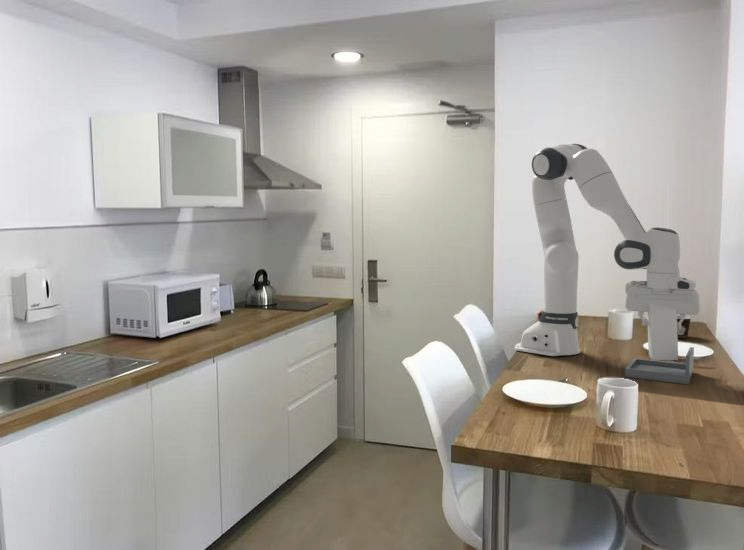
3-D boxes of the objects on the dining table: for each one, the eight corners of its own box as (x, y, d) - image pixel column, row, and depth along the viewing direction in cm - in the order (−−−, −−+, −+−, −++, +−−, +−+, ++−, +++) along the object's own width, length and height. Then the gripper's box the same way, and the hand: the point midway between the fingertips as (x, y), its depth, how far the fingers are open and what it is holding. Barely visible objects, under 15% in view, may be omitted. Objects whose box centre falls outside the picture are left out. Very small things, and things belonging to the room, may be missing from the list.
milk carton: (678, 360, 179) (676, 296, 178) (652, 360, 182) (649, 297, 180) (673, 355, 186) (671, 294, 185) (648, 355, 188) (646, 295, 187)
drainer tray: (624, 376, 182) (625, 350, 182) (633, 365, 196) (634, 341, 195) (688, 384, 173) (689, 356, 173) (693, 372, 187) (694, 346, 186)
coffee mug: (690, 342, 233) (691, 316, 232) (688, 346, 225) (689, 319, 224) (657, 339, 239) (658, 314, 238) (654, 343, 232) (655, 317, 231)
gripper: (623, 281, 185) (622, 326, 186) (699, 284, 174) (698, 331, 175) (627, 279, 190) (626, 323, 191) (701, 282, 179) (699, 328, 181)
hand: (661, 327), depth 183 cm, fingers closed on milk carton, 8 cm apart
